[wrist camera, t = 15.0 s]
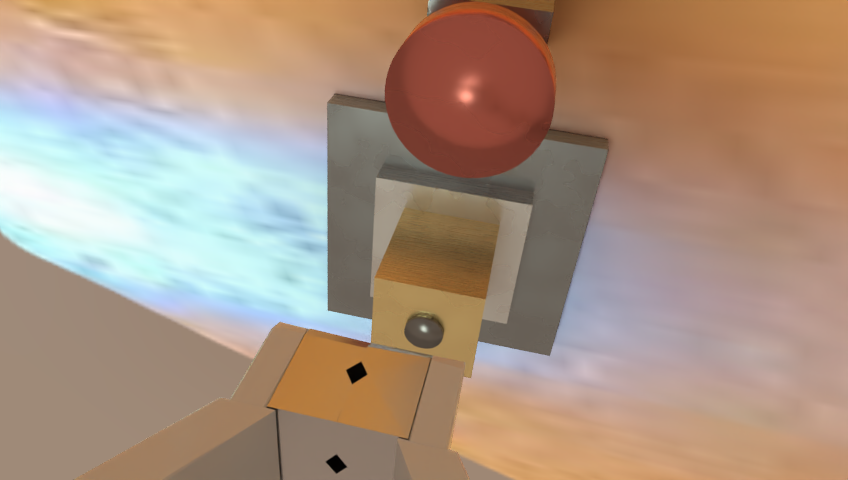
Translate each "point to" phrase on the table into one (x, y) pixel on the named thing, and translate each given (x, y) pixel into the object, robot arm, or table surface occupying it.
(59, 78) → the table surface
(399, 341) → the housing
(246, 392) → the robot arm
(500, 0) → the press
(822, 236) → the table surface
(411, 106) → the plunger
